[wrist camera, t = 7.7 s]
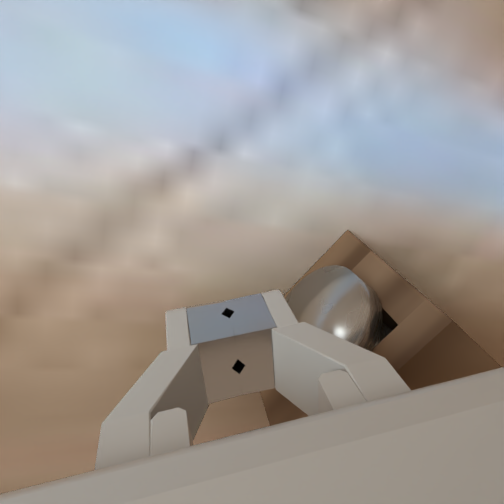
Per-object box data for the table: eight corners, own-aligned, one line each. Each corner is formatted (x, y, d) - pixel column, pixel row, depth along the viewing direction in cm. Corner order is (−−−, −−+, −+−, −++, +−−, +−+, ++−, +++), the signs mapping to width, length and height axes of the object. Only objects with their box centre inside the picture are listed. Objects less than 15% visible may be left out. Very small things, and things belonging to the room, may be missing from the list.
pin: (262, 319, 16) (290, 392, 12) (331, 248, 15) (382, 303, 11) (458, 450, 23) (513, 521, 19) (512, 406, 22) (579, 471, 18)
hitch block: (243, 337, 18) (284, 473, 12) (347, 229, 17) (452, 320, 11) (367, 414, 23) (445, 544, 16) (458, 333, 21) (579, 440, 15)
